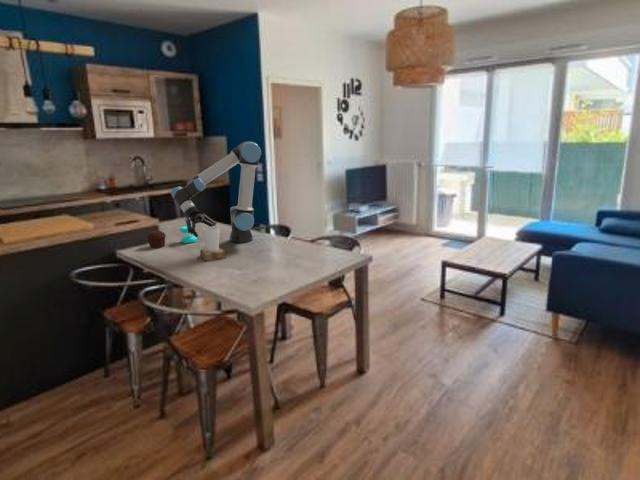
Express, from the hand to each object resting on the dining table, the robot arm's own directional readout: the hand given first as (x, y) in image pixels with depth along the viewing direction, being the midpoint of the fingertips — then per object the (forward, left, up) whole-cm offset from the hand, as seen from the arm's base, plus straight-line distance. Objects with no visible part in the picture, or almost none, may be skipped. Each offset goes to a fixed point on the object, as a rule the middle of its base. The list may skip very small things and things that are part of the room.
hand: (210, 238), depth 237 cm
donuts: (+4, -41, -12) cm, 43 cm away
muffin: (+24, -40, -12) cm, 49 cm away
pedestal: (-1, +1, -11) cm, 11 cm away
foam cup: (-1, 0, -7) cm, 8 cm away
